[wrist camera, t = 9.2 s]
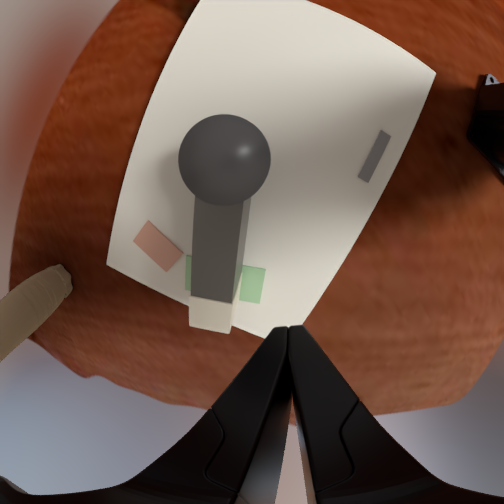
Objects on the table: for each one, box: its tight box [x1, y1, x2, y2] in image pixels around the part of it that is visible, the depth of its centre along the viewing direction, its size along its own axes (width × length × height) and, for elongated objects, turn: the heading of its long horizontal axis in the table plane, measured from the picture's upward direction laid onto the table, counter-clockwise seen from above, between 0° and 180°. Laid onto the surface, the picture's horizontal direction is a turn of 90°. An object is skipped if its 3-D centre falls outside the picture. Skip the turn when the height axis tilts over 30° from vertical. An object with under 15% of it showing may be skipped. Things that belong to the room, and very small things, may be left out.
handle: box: [0, 264, 73, 362], centre depth 15 cm, size 5×6×15 cm
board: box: [106, 0, 436, 338], centre depth 15 cm, size 15×22×1 cm
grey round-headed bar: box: [178, 114, 271, 334], centre depth 14 cm, size 11×4×4 cm, turn 173°
